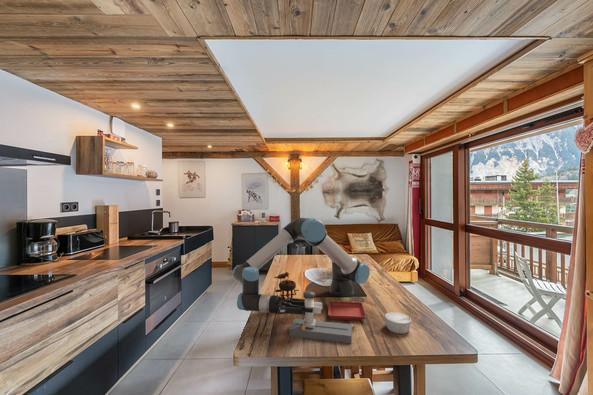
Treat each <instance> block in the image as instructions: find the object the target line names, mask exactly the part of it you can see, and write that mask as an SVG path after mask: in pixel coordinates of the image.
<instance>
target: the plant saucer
mask: <svg viewBox="0 0 593 395" xmlns="http://www.w3.org/2000/svg"><path fill="white" fill-rule="evenodd" d="M327 315H328V317H329V318H330V319H331V320H335V321H336V320H337V321H351V322H353V321H355V322H362V321H364V319H366V317H367V316H366V311H365V308H364V304H363V302H359V301H357V302H356V301H355V302H354V301H337V300H335V301H334V300H333V301H332V300H329V301H328V312H327Z"/></svg>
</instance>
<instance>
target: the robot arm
mask: <svg viewBox="0 0 593 395" xmlns="http://www.w3.org/2000/svg"><path fill="white" fill-rule="evenodd" d="M327 231H328V230H327V229H326V226H325V224H324V223H323V222H322V221H321V220H319V219H316V218H309V217H308V218H307V217H305V218H304V217H298V218H295V219H293V220H292V221H290V222H289V223H287V225H285V226H284V227H282V229H281V231H280V232H279V233H278V234H277V235H275V237H273V239H271V240H270V241H268V242H267V243H266V244H265V245H264V246H262V248H260V249H259V250H258V251H257V252H256V253H254V254H253V255H252V256H251V257H249V258H248V259H247V260H246V261H245V262H243V263H242V264H238V265H236V266H235V267H234V268H233V270H232V276H233V277H234V279H235V280H236V281H237V282H239V284H241V285H242V291H241V292H239V294H238V295H237V300H236V307H237V309H238V310H239V311H246V312H249V311H250V312H259V313H263V314H265V313H270V314H281V315H284V314H285V315H286V314H287V315H298V316H299V315H300V316H305V312H306V313H314V315H316V314H317V315H321V314H322V310H323V302H318V301H316V302H315V301H314V306H306V308H305V298H295V297H293V298H291V296H289V297H286V298H287V299H284V300H281V299H280V297H281V296H280V295H278V296H277V294H276V295H274V294H272V295H271V294H263V293H262V294H260V285H259V284H260V274H259V273H260V272H259V270H260V269H261V268H263V266H264V265H266V264H267V263H268V262H269V261H270V260H271V259H273V258H274V257H275V256H276V255H277V254H279V252H281V251H282V250H284V248H286V246H288V245H289V244H292V243H294V242H295V241H298V240H300V239H301V240H303V241H305V242H306V243H307V244H308V245H310V246H311V247H313V248H316V247H317V249H318V250H320V251H321V252H322V253H323V254H324V255H325V256H327V257H328V258H329V259H330V260H331V272H332V273H331V275H332V276H331V279H332V281H331V283H330V286H329V294H330V295H332V296H336V297H341V298H345V297H351V296H353V295H354V294H355V293H354V288H353V285H352V284H353V283H352V282H354V283H356V284H361V285H362V284H366V283H367V281H368V279H369V278H370V274H371V272H370V271H371V270H370V267H369V265H368V264H366V263H365V262H362V261H360V260H359V259H358V258H357V257H356V256H353V255H352V256H351V255H350V254H349V253H347V252H346V251H345V250H344V249H343V248H342V247H341V246H340V245H338V243H337V242H336V241H334V239H332V238H331V237H330V236H329V235H328V232H327Z"/></svg>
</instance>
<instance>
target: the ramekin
mask: <svg viewBox="0 0 593 395" xmlns="http://www.w3.org/2000/svg"><path fill="white" fill-rule="evenodd" d="M384 319H385V324H386V328H387V329H388V330H389V332H392V333H396V334H398V335H399V334H401V335H402V334H408V333H409V332H410V328H411V323H412V318H411V317H410V316H409V315H407V314H404V313H403V312H402V313H401V312H397V311H395V312H394V311H391V312H387V313H385V314H384Z"/></svg>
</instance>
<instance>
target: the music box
mask: <svg viewBox="0 0 593 395" xmlns="http://www.w3.org/2000/svg"><path fill="white" fill-rule="evenodd" d="M289 275H290V273H289V272H288V271H286V272H285V273H280V274H278V275H277V276H274V277H273V279H277V280H276V281H277V282H276V283H277V285H276V286H277V289H275V293H276V295H277V296H280V299H281V300H284V299H287V297H290V298H294V297H293V296H296V295H297V293H296V292H298V291H300V289H296V287H297V284H296V282H295V281H294V280H290V279H289V278H290V277H289ZM286 278H288V279H286ZM284 279H286V280H284ZM278 280H280V282H278ZM278 287H279V288H278ZM278 293H280V295H279V294H278Z"/></svg>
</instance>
